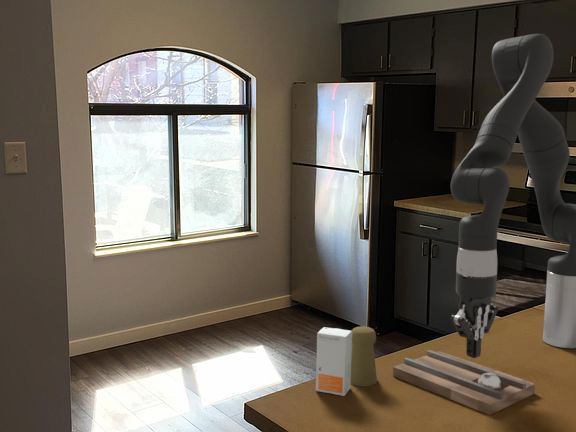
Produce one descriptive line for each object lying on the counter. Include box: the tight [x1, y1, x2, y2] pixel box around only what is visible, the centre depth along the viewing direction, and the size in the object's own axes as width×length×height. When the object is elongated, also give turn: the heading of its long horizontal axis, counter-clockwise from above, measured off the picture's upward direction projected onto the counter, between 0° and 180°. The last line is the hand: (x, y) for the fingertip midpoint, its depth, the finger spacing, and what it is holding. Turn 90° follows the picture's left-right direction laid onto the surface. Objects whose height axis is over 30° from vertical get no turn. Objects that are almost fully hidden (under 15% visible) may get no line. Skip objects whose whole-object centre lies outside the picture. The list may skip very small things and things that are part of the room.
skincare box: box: [315, 326, 353, 397], centre depth 127 cm, size 6×4×12 cm
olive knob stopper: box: [351, 325, 378, 387], centre depth 132 cm, size 6×6×11 cm
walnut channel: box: [392, 349, 536, 416], centre depth 131 cm, size 15×23×3 cm, turn 39°
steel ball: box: [478, 373, 501, 391], centre depth 125 cm, size 4×4×4 cm
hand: (473, 356), depth 128 cm, fingers closed
